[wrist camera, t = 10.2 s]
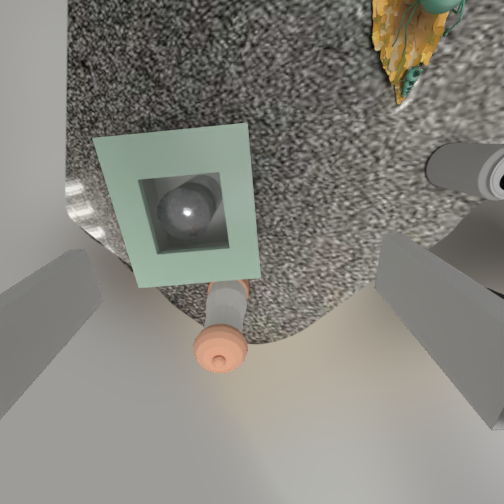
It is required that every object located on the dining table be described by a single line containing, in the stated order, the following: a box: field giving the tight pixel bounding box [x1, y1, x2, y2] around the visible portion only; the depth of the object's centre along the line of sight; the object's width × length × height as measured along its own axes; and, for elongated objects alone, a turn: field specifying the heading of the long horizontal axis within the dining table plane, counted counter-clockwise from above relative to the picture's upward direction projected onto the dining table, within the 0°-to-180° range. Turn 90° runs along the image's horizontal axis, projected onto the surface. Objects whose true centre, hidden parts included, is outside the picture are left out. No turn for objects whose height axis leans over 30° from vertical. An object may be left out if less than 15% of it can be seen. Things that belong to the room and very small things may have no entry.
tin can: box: [157, 175, 222, 240], centre depth 36 cm, size 6×6×12 cm
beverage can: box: [426, 143, 504, 200], centre depth 35 cm, size 6×6×12 cm
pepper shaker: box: [193, 279, 249, 373], centre depth 40 cm, size 7×7×19 cm
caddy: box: [92, 123, 261, 288], centre depth 36 cm, size 18×16×13 cm
